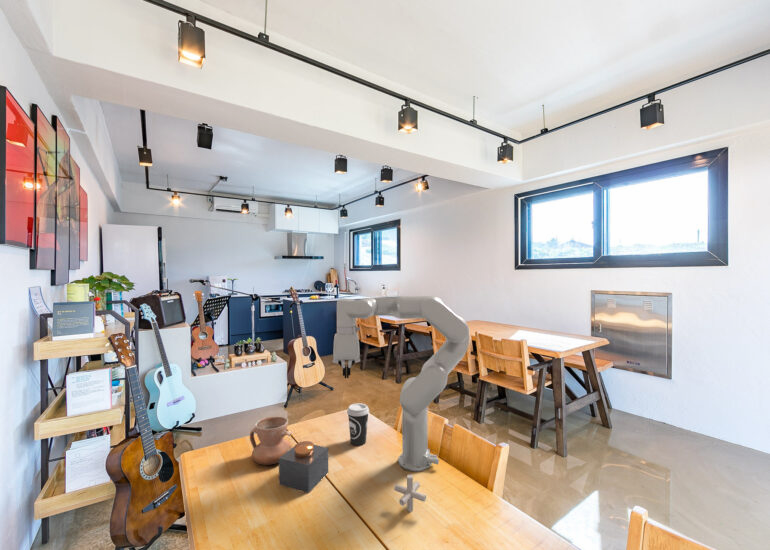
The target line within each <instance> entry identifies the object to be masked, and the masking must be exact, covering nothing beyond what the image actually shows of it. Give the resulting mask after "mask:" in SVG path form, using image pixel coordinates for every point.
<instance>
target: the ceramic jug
mask: <svg viewBox="0 0 770 550" xmlns="http://www.w3.org/2000/svg"><path fill="white" fill-rule="evenodd" d="M288 426H289V419H288V418H287V417H284V416H269V417H263V418H261V419H258V420H257V421H256V423H255V424H254V427H253V428H252V429H251V430H250V432H249V441H250V443H251V445H252V448H253V450H252V451H251V452H252V453H251V456H252V460H253V461H254V462H255V463H257V464H259V465H264V466H265V465H266V466H269V465H272V466H273V465H275V464H276V465H277V464H279V458H280V457H281V456H282V455H284V454H285V453H286V452H288V451H289V450H290V449H292V445H291V443H290V442H289V441H288V440H287V439H285V437H286V436H288V437H290V436H291V434H292V433H293V432H292V431H291V430H288ZM255 434H256V436H257V438H258V441H259V442H260V443H258V444H257V443H256V440H255Z"/></svg>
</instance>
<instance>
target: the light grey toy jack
mask: <svg viewBox="0 0 770 550" xmlns="http://www.w3.org/2000/svg"><path fill="white" fill-rule="evenodd" d="M420 486H421V484H420V482H419V481H418V480H417V481H414V475H412V474H407V475H406V487H405V486H403V485H400V484H398V483H396V484H395V485H394V487H393V489H394V490H393V491H395V492H398V493H400V494H403V495H402V496H401V498H400V499H399V501H398V503H399V505H400V506H405V505H406V510H407V511H408V512H413V511H414V499H416V500H418V501H420V502H422V503H425V502H426V500H427V495H426V494H423V493H421V492H419V491H417V490H418V489H419V488H420Z"/></svg>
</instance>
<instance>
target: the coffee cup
mask: <svg viewBox="0 0 770 550" xmlns="http://www.w3.org/2000/svg"><path fill="white" fill-rule="evenodd" d="M369 413H370V409H369V406H368V405H367V404H365V403H360V402H359V403H352V404H350V405H349V406H348V408H347V410H346V414H347V415H348V425H349V427H348V428H349V438H350V444H351V445H352V444H353V446H355V445H356V446H355V447H359V446H360V445H361V446H363V444H364V445H365V444H366V443H367V434H368V432H367V431H368V422H369V421H368V420H369Z"/></svg>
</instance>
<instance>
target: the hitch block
mask: <svg viewBox="0 0 770 550" xmlns="http://www.w3.org/2000/svg"><path fill="white" fill-rule="evenodd" d="M327 473H328V474H329V447H326V446H322V445H321V446H320V445H317V444H314V452H313V454H312V455H311V456H309V457H305V458H299V457H296V456H295V445H294V446H292V447H291V449H290V450H289V451H288V452H286V453H285V454H284V455H282V456H281V457H280V458H279V463H278V485H279V486H282V487H286V488H290V489H293V490H296V491H301V492H304V493H306V494H310V492H312V491H313V490H314V488H315V487H316V486H318V484H319V483H320V482H321V481H322V480H323V479H324V478H325V477H326V476H327V475H328V474H327ZM326 474H327V475H326ZM324 476H325V477H324ZM323 477H324V478H323ZM321 479H322V480H321Z"/></svg>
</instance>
